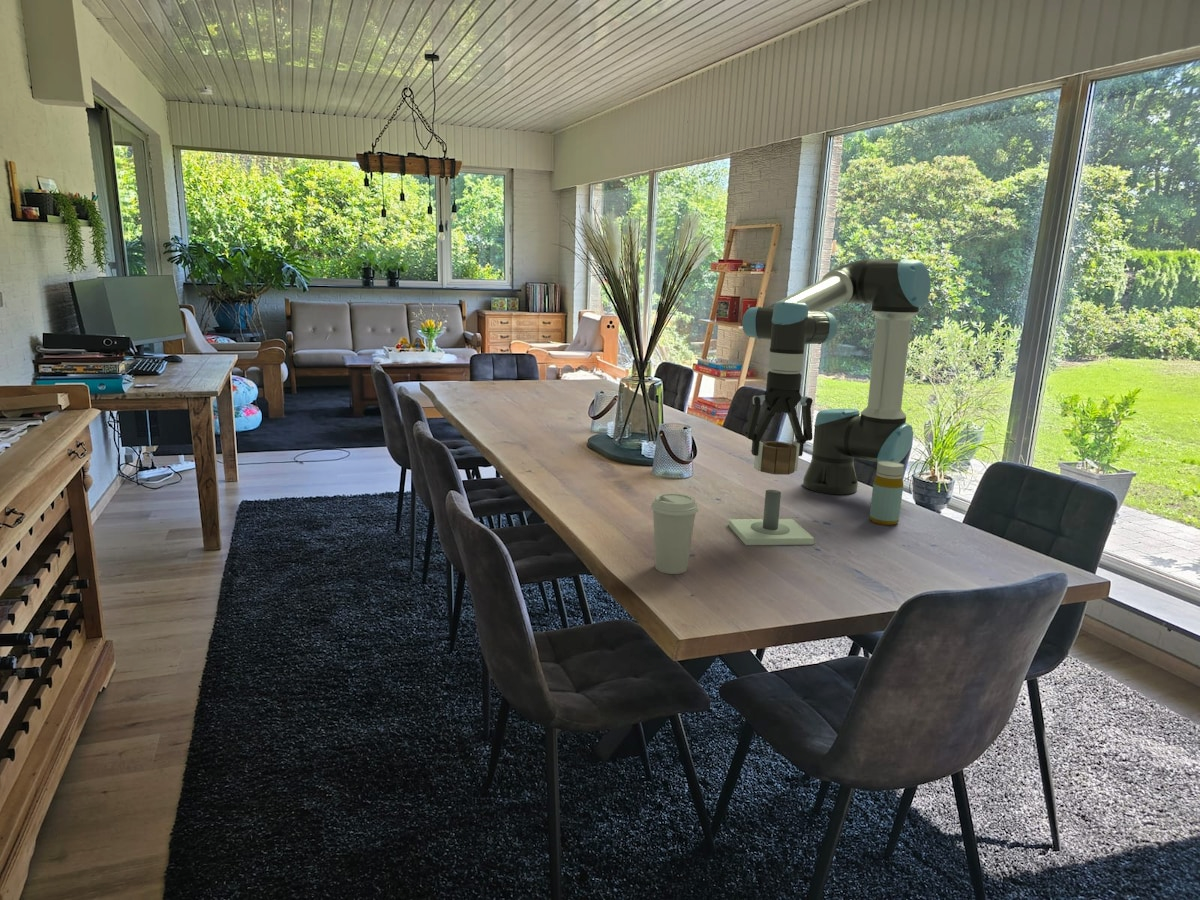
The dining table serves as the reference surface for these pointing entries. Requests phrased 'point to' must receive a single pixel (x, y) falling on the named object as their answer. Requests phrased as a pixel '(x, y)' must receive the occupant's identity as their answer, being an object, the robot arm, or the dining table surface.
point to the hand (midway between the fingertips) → (775, 469)
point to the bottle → (887, 493)
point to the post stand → (770, 526)
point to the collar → (778, 458)
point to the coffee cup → (673, 531)
